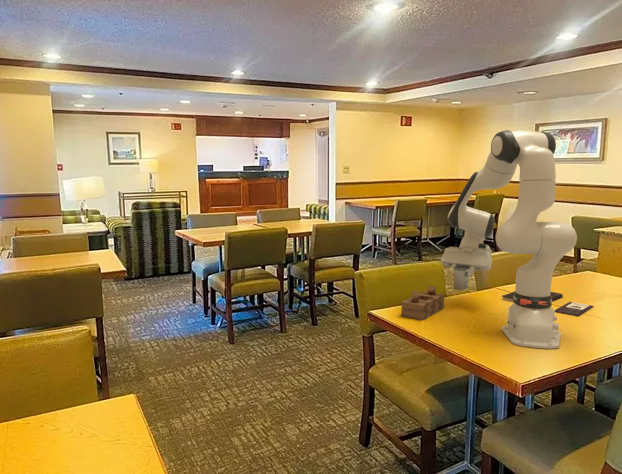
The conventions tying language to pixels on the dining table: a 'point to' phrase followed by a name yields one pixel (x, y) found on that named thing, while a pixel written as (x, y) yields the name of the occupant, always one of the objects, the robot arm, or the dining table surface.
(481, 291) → the dining table surface
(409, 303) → the brown block with knob
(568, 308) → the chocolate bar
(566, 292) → the dining table surface
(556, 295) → the hardcover book
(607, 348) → the dining table surface
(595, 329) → the dining table surface
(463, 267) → the grey upright block
